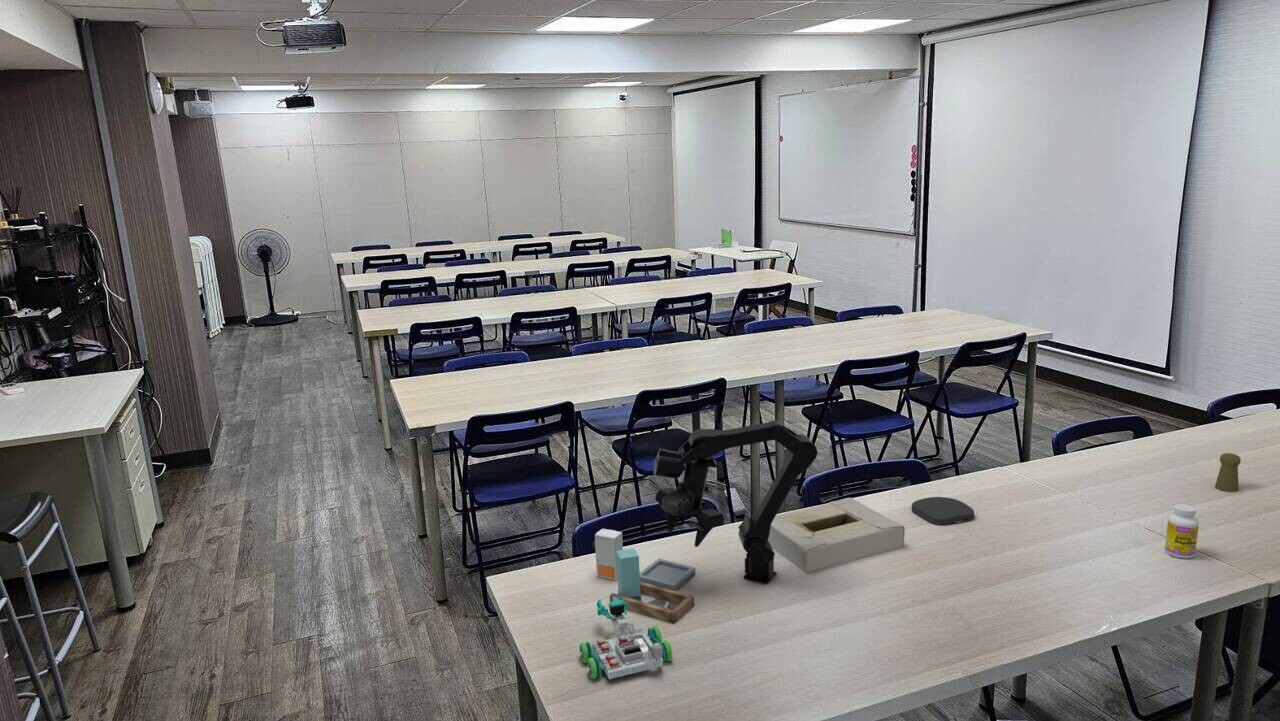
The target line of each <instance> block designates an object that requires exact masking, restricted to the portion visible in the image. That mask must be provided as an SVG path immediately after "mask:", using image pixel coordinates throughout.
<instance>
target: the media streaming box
mask: <svg viewBox="0 0 1280 721" xmlns="http://www.w3.org/2000/svg"><path fill="white" fill-rule="evenodd" d="M911 512H912V513H913V514H914V515H916V516H918V517H919V518H921V519H923V520H924V521H926V522H927V523H930V524H932V525H936V526H949V525H957V524H963V523H967V522H971V521H973V520H974V519H975V511H974V509H973V508H972V507H971V506H969V505H968V504H966V503H965V502H963V501H961V500H958V499H956V498H953V497H945V496H932V497H931V496H930V497H924V498H921V499H918V500H917V499H916V500H915V501H913V502H912V503H911Z"/></svg>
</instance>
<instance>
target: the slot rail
mask: <svg viewBox="0 0 1280 721" xmlns="http://www.w3.org/2000/svg"><path fill="white" fill-rule="evenodd" d="M640 593H641V595H646V596H648V597H649V596H650V597H652V598H655V599H657V598H660V597H661V598H663V599H664V600H666V602H668V603H669V602H676V603H680V604H679V605H677V606H676V607H675V608H674V609H673V610H669V609H668V608H667V607H665V608H663V607H659V606H656V605H652V604H649V603H648V602H645V601H642V600H641V601H638V600H635V599H632V598H628V597H625V596H621V595H618V593H614V592H612V593H611V594H609V603H610V602H613V596H616V597H619V598H621V599H622V600H623V601H625V602H626V603H627V604H628V605H627V607H628V609H626V611H631V612H634V613H637V614H640V615H643V616H647V617H651V618H653V619H658V620H661V621H664V622H666V623H667V622H668V623H670V624H673V625H674V624H676V623H677V622H678V621H679V620H680V619H681V618H682V617H684V615H686V614H687V613H688V612H689V611H690V610H691V609H692V608H693V607H694V606H695V596H694V595H691V594H687V593H684V592H680V591H678V590H677V591H674V590H670V589H666V588H663V587H659V586H655V585H652V584H648V583H645V582H641V581H640Z"/></svg>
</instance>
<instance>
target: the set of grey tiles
mask: <svg viewBox="0 0 1280 721" xmlns="http://www.w3.org/2000/svg"><path fill="white" fill-rule="evenodd" d="M666 602H667V601H666V600H664V599H663V598H661V597H660V598H655V599H652V600H650V601H647V603H649V604H652V605H656V606H659V607H663V608H666V609H669V610H673V609H674V608H675V607H676V606H677V605H679V604H680V603H676V602H669V601H668V604H667V603H666ZM666 604H667V607H665V605H666Z"/></svg>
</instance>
